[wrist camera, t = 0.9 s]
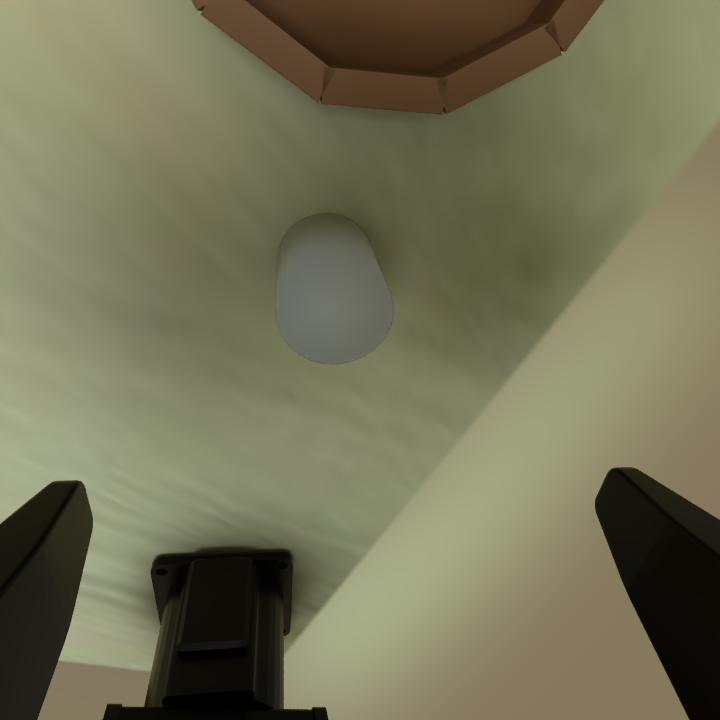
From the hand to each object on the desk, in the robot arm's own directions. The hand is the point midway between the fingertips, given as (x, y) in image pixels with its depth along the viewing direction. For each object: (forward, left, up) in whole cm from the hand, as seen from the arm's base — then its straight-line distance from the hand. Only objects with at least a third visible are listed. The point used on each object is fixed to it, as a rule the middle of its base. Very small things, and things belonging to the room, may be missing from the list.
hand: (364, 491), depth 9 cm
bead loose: (0, 0, -10) cm, 10 cm away
